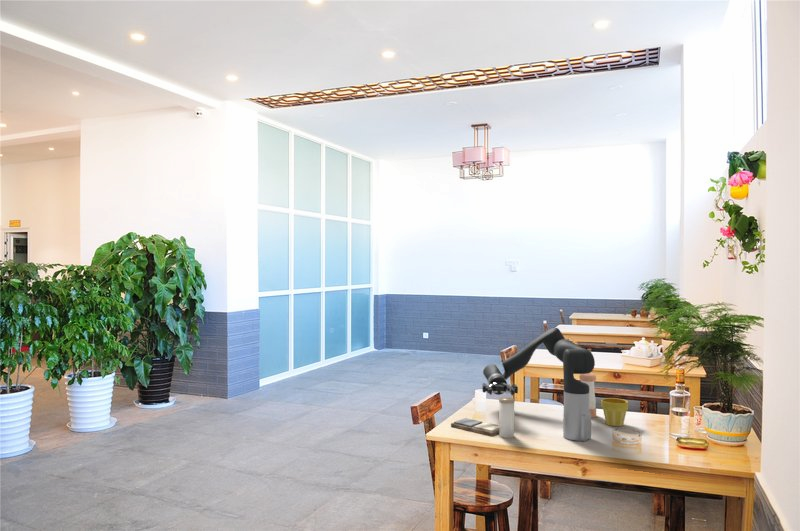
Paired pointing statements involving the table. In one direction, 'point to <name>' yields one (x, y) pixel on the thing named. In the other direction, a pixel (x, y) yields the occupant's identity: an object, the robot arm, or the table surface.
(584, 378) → the pepper shaker
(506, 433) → the tea canister
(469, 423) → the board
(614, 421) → the plant pot
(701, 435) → the table surface
